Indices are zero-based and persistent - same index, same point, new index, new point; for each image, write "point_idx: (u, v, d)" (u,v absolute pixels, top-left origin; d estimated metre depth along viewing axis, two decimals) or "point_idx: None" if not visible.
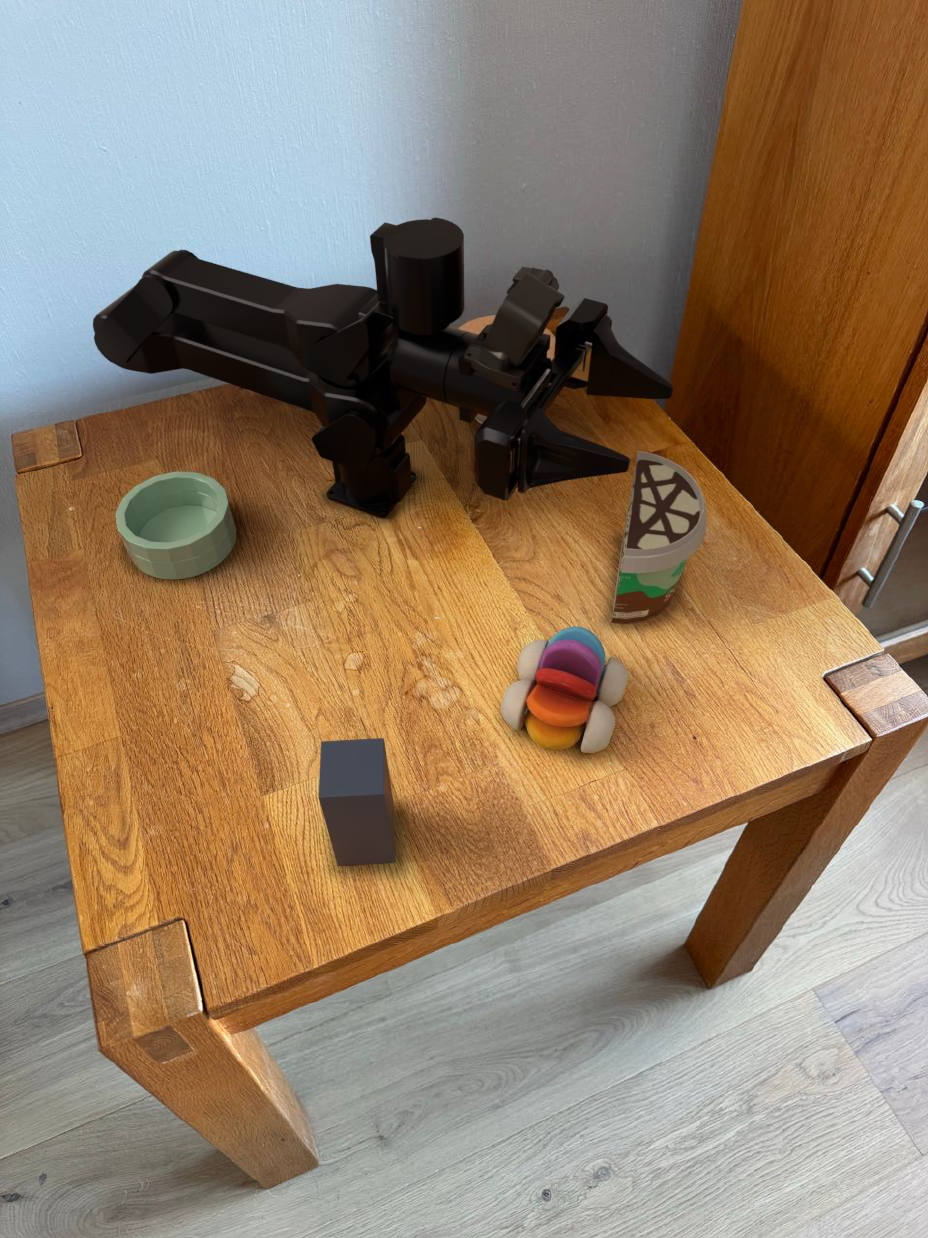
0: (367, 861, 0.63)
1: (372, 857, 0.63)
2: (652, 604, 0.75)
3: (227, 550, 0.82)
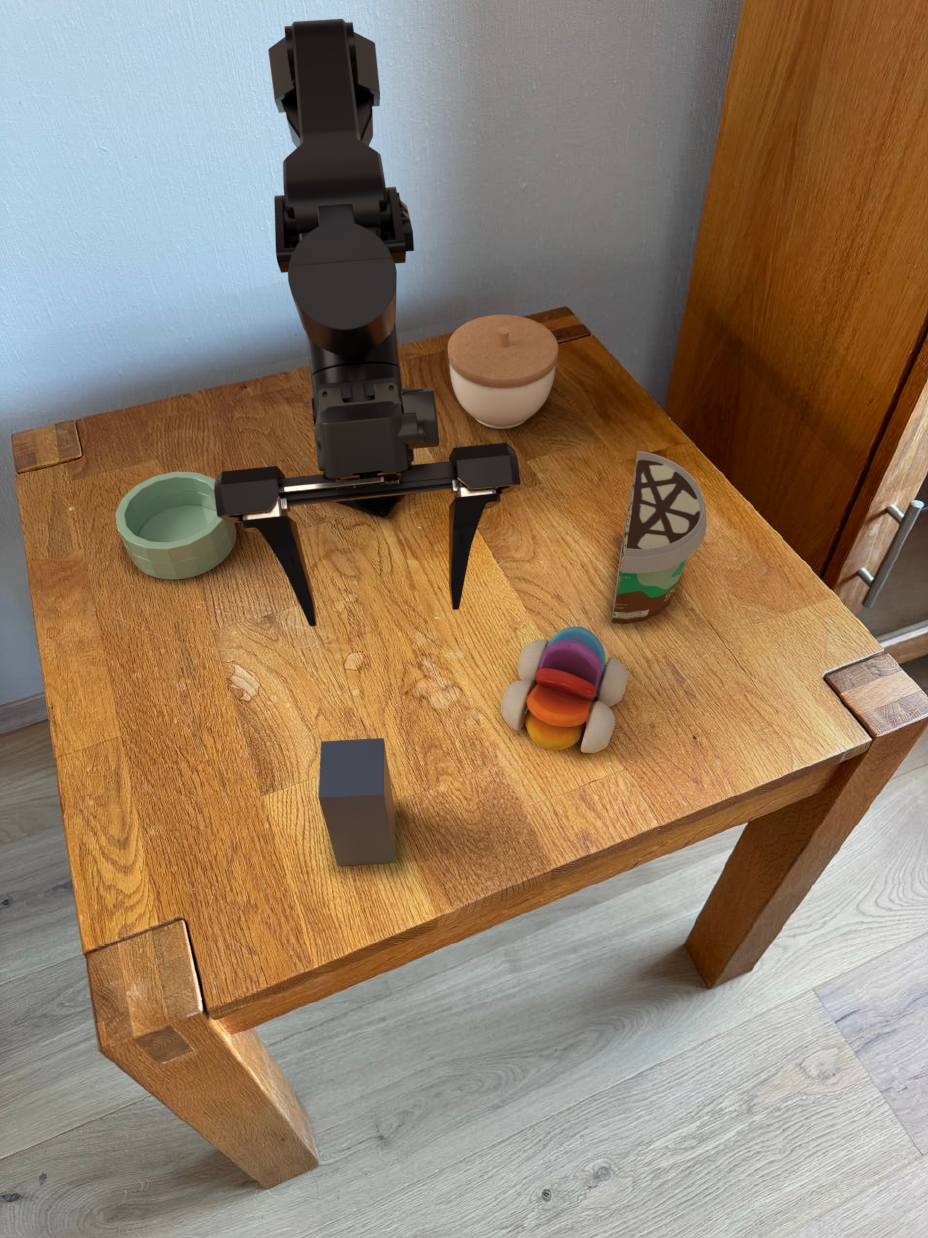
0: (367, 861, 0.63)
1: (372, 857, 0.63)
2: (652, 604, 0.75)
3: (227, 550, 0.82)
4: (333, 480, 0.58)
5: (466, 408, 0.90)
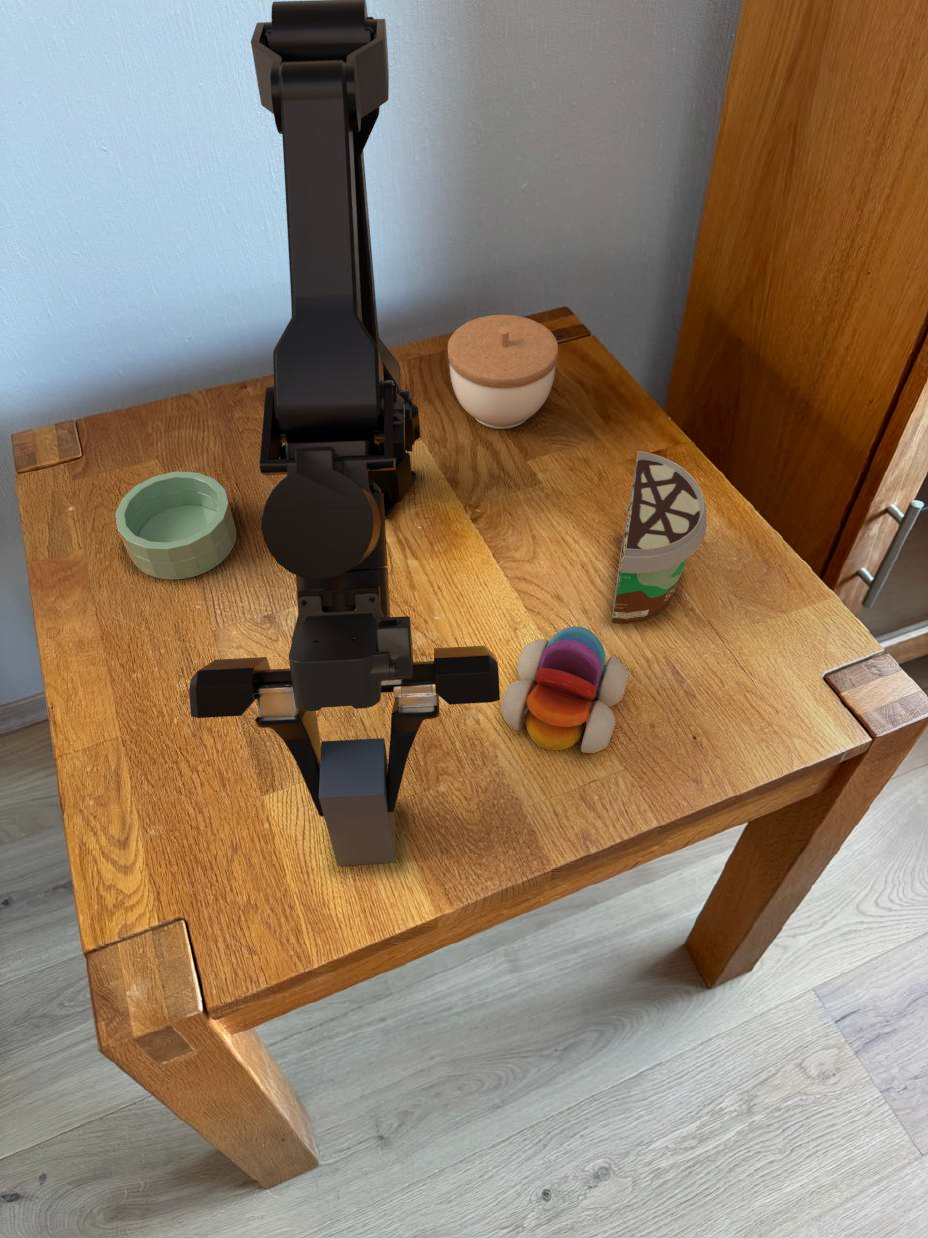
0: (367, 861, 0.63)
1: (372, 857, 0.63)
2: (652, 604, 0.75)
3: (227, 550, 0.82)
4: None
5: (466, 408, 0.90)
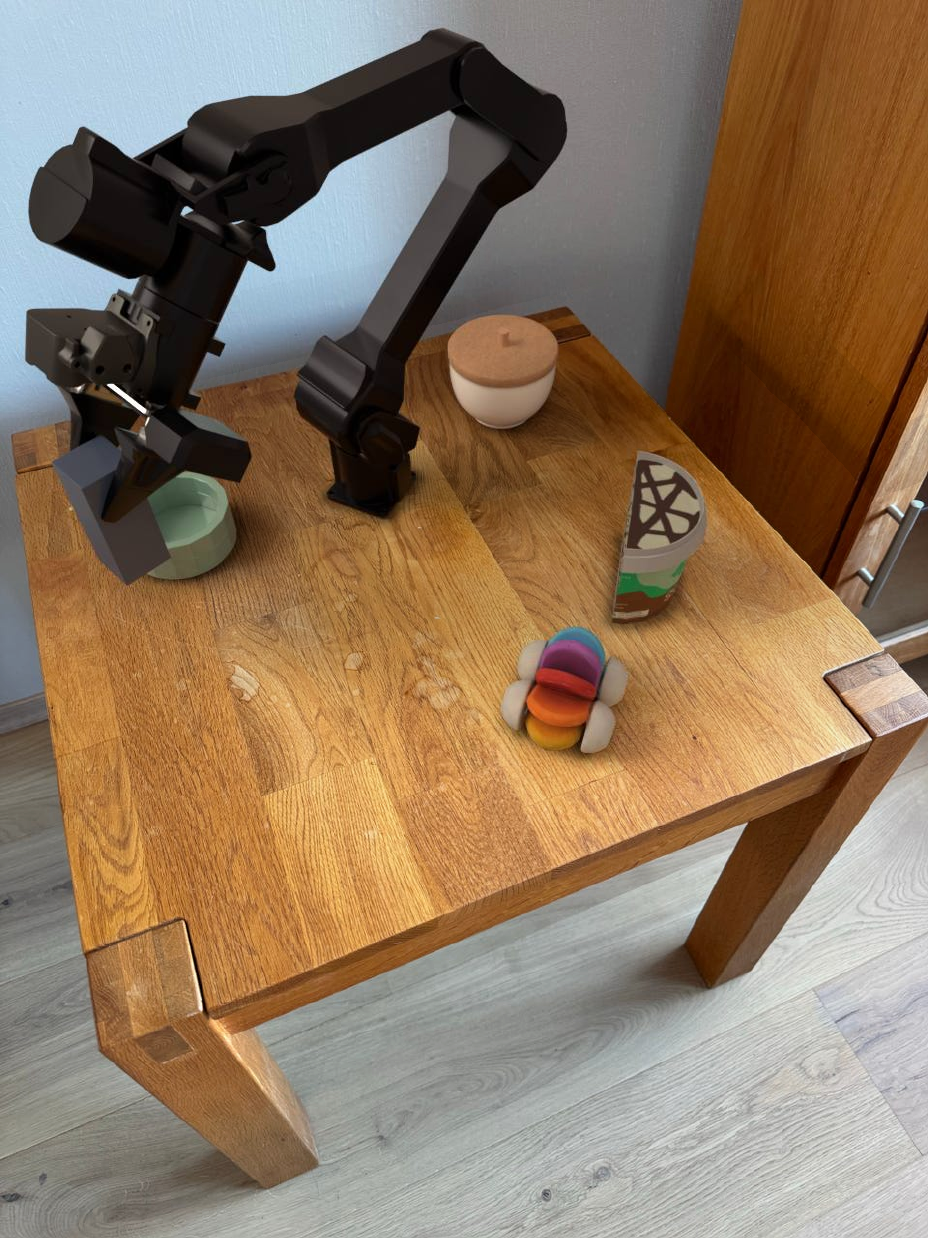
0: (111, 569, 0.69)
1: (111, 566, 0.69)
2: (652, 604, 0.75)
3: (227, 550, 0.82)
4: None
5: (466, 408, 0.90)
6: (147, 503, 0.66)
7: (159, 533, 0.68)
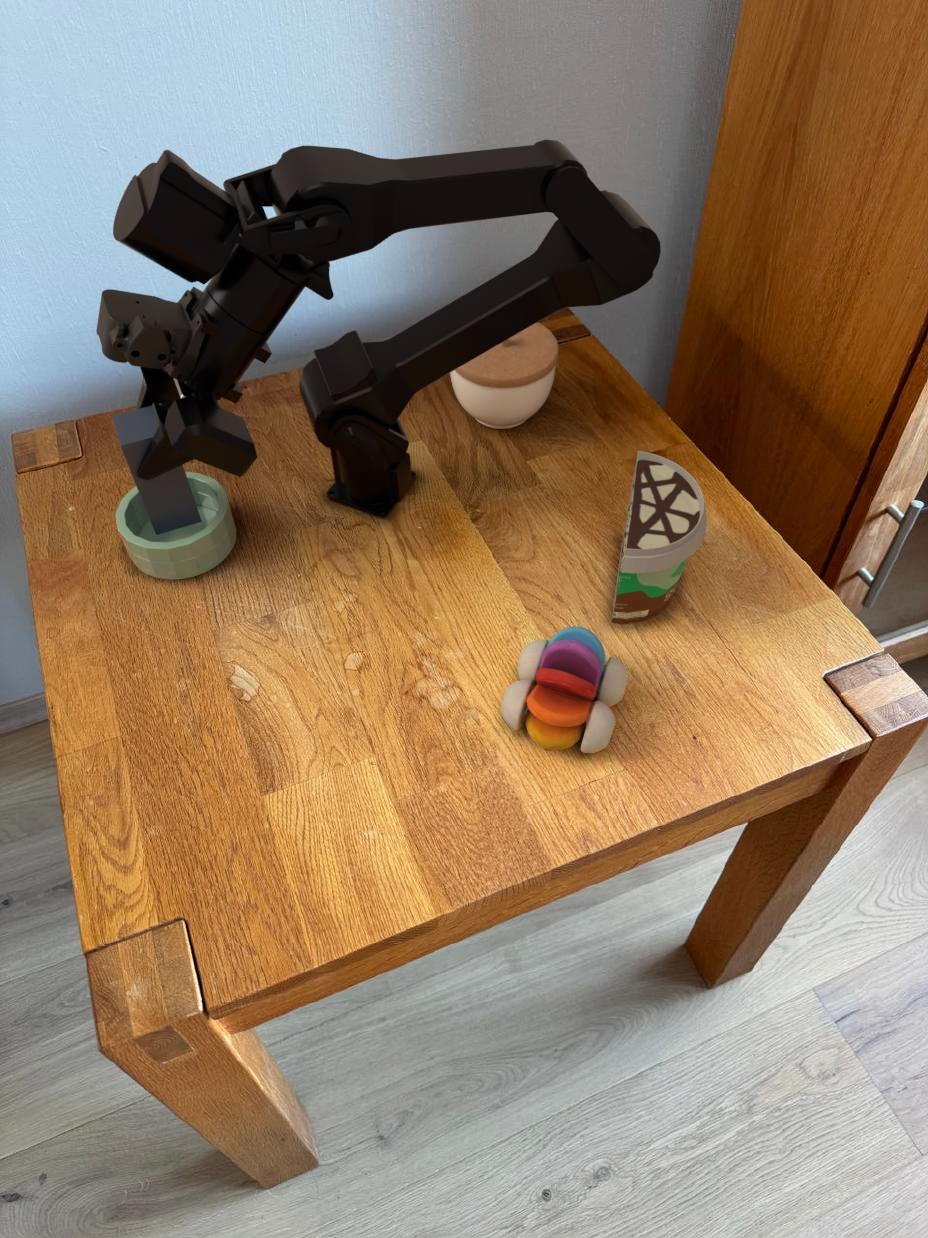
0: None
1: None
2: (652, 604, 0.75)
3: (227, 550, 0.82)
4: None
5: (466, 408, 0.90)
6: (182, 471, 0.75)
7: (192, 498, 0.78)
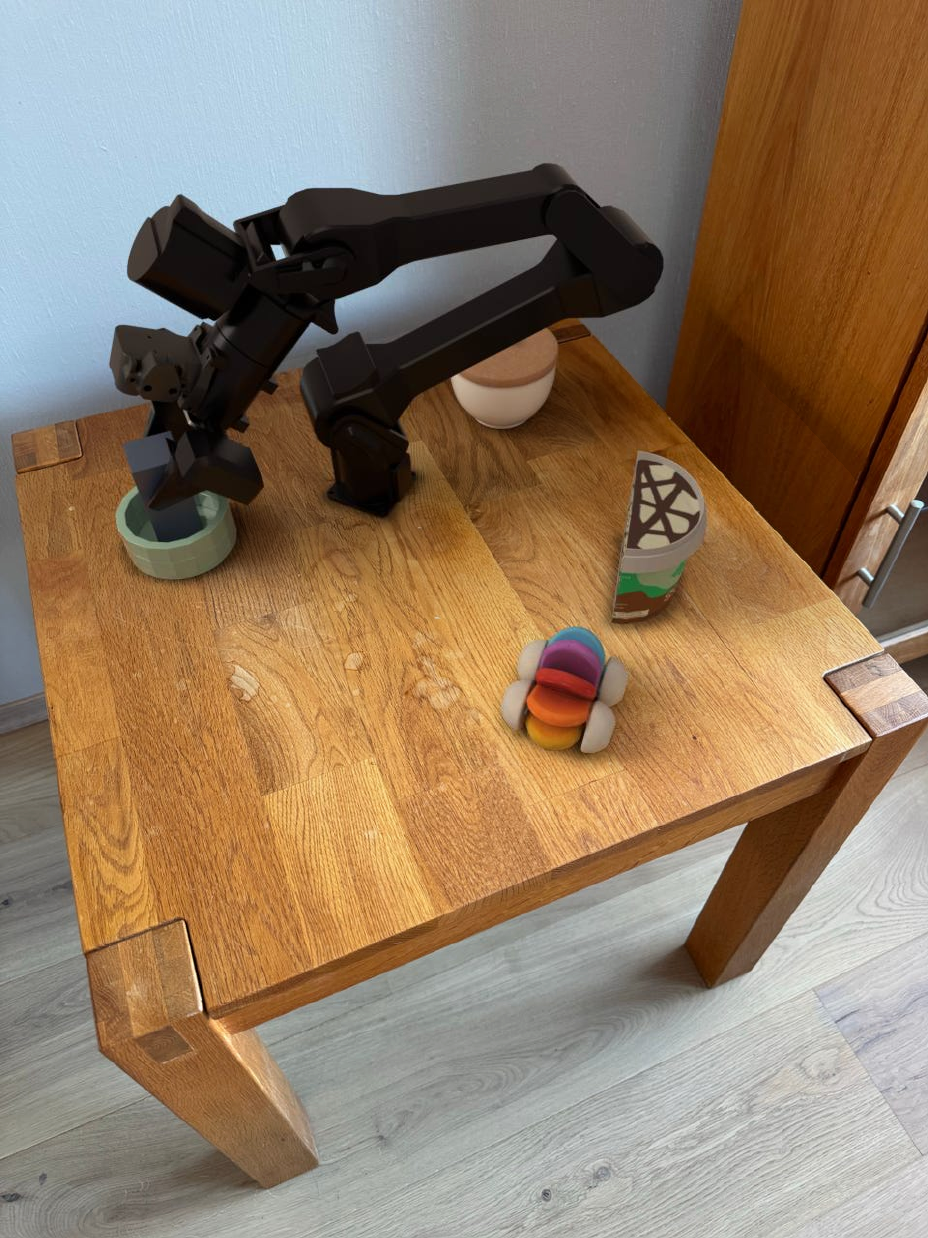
0: None
1: None
2: (652, 604, 0.75)
3: (227, 550, 0.82)
4: None
5: (466, 408, 0.90)
6: None
7: (199, 522, 0.80)
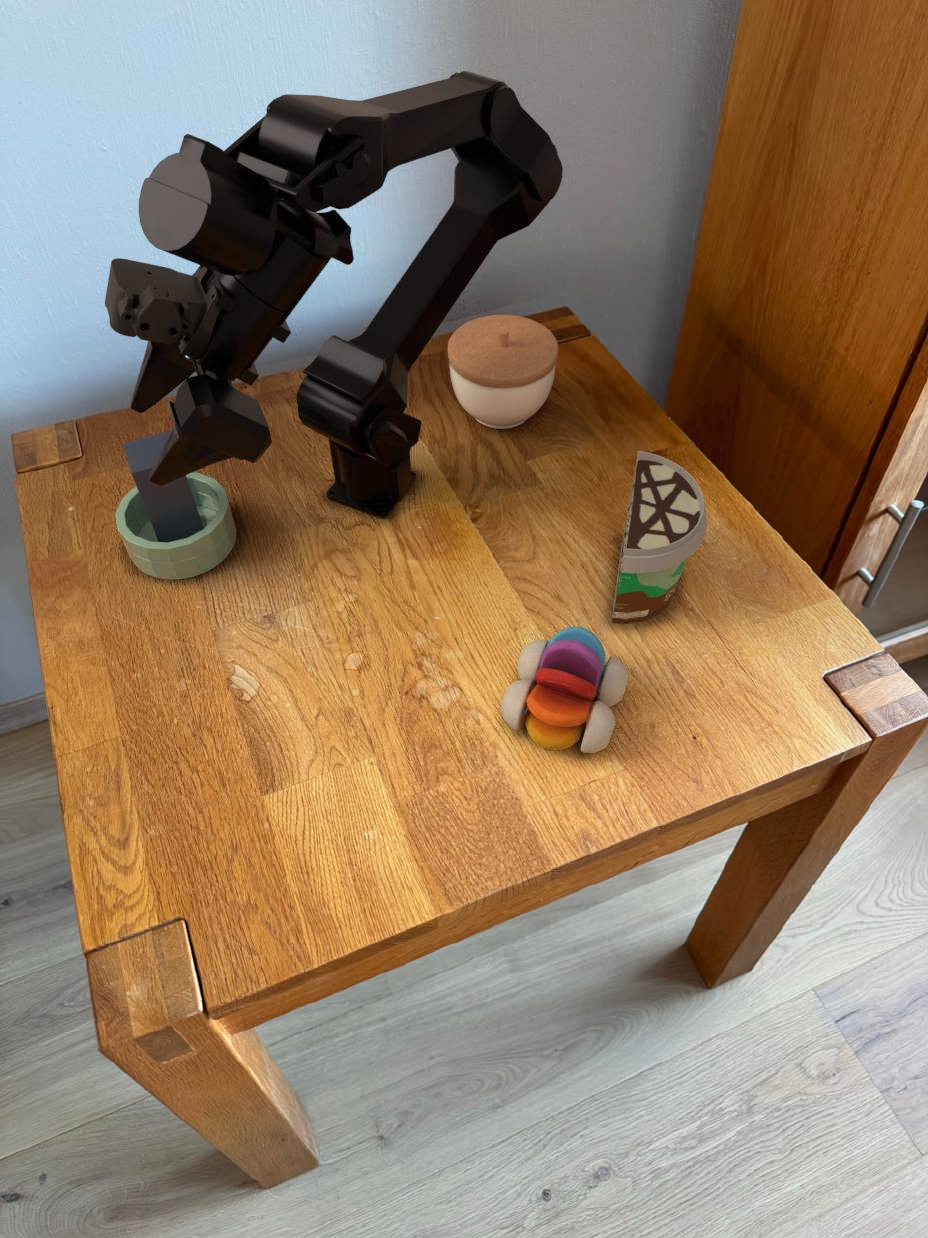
0: None
1: None
2: (652, 604, 0.75)
3: (227, 550, 0.82)
4: None
5: (466, 408, 0.90)
6: (190, 496, 0.77)
7: (199, 522, 0.80)
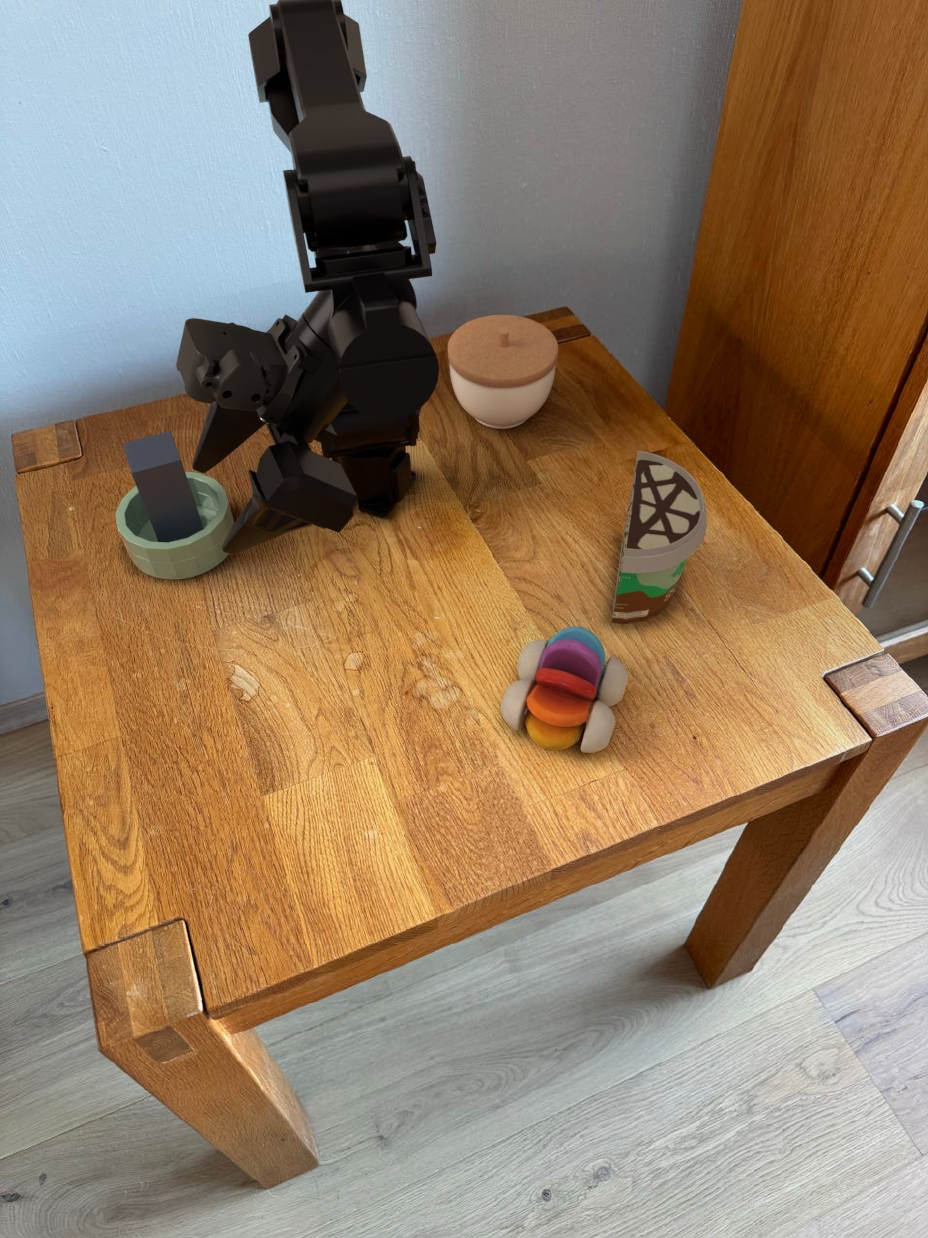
0: None
1: None
2: (652, 604, 0.75)
3: None
4: None
5: (466, 408, 0.90)
6: (190, 496, 0.77)
7: (199, 522, 0.80)
